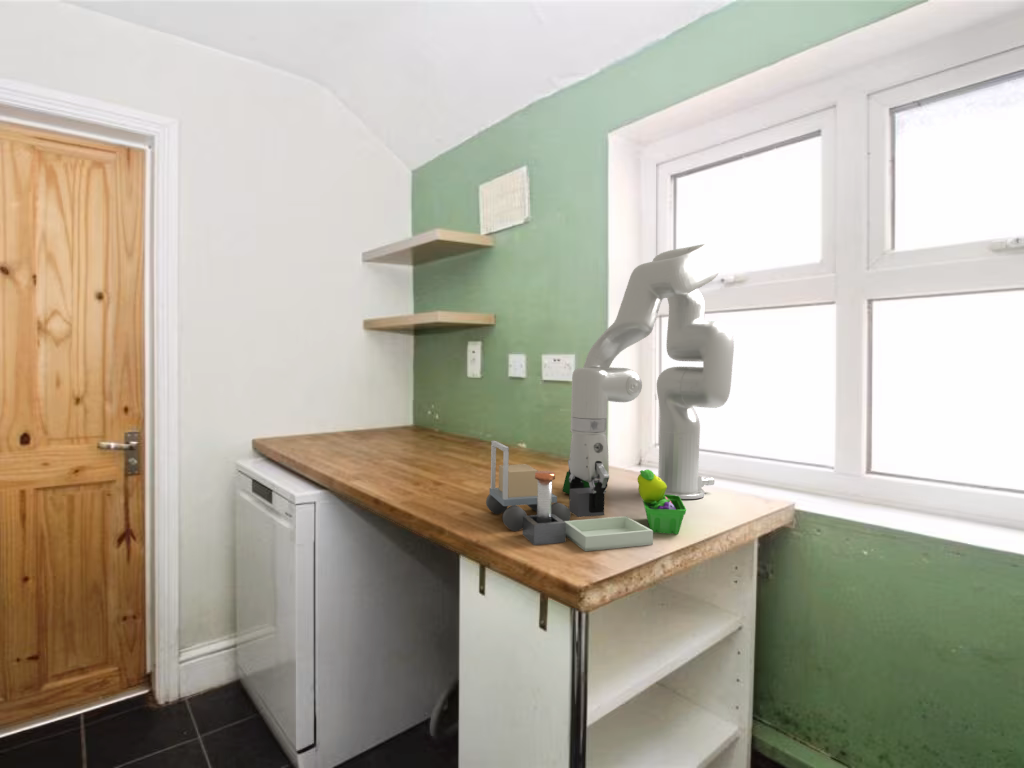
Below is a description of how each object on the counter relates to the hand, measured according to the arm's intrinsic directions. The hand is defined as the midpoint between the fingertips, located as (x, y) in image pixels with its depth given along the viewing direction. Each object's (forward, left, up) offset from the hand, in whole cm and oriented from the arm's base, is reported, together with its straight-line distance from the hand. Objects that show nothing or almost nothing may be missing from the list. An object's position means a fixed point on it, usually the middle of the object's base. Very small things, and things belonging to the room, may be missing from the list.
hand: (585, 505), depth 113 cm
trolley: (+14, +1, -2) cm, 14 cm away
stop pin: (+15, +13, -2) cm, 20 cm away
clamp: (-8, -16, -2) cm, 18 cm away
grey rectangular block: (0, 0, -2) cm, 2 cm away
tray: (+4, +16, -2) cm, 17 cm away
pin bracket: (+15, +13, -2) cm, 20 cm away
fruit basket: (-10, +12, -2) cm, 16 cm away
